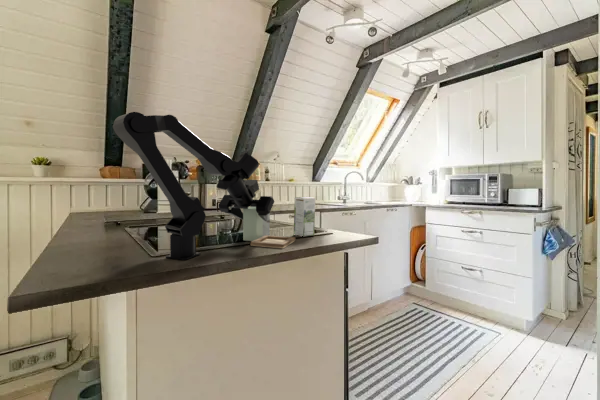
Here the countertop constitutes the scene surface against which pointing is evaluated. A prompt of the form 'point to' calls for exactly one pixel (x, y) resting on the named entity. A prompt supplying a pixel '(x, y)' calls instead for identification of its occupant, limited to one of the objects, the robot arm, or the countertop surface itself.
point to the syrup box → (304, 216)
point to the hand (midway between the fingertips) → (255, 219)
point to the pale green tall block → (252, 224)
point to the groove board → (273, 241)
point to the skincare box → (266, 226)
